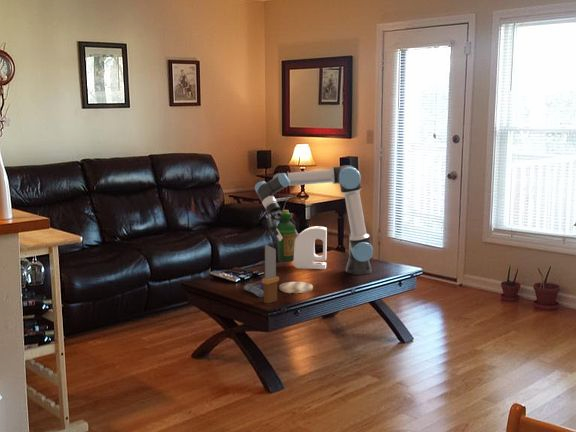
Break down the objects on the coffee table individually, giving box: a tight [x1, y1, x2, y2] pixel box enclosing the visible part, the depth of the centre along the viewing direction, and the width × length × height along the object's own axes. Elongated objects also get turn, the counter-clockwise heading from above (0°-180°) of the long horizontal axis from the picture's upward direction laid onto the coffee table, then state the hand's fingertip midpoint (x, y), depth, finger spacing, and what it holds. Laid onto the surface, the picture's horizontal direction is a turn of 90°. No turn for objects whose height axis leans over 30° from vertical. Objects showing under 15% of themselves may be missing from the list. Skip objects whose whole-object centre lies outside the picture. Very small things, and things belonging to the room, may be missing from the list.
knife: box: [261, 244, 280, 304], centre depth 331 cm, size 8×4×30 cm, turn 136°
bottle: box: [276, 209, 297, 263], centre depth 358 cm, size 11×11×28 cm
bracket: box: [292, 225, 328, 270], centre depth 400 cm, size 7×21×25 cm, turn 82°
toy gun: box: [243, 280, 264, 298], centre depth 349 cm, size 4×19×15 cm
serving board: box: [279, 281, 314, 295], centre depth 355 cm, size 18×18×2 cm
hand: (289, 238), depth 356 cm, fingers closed on bottle, 10 cm apart
